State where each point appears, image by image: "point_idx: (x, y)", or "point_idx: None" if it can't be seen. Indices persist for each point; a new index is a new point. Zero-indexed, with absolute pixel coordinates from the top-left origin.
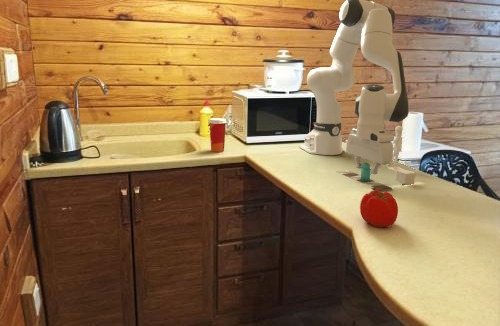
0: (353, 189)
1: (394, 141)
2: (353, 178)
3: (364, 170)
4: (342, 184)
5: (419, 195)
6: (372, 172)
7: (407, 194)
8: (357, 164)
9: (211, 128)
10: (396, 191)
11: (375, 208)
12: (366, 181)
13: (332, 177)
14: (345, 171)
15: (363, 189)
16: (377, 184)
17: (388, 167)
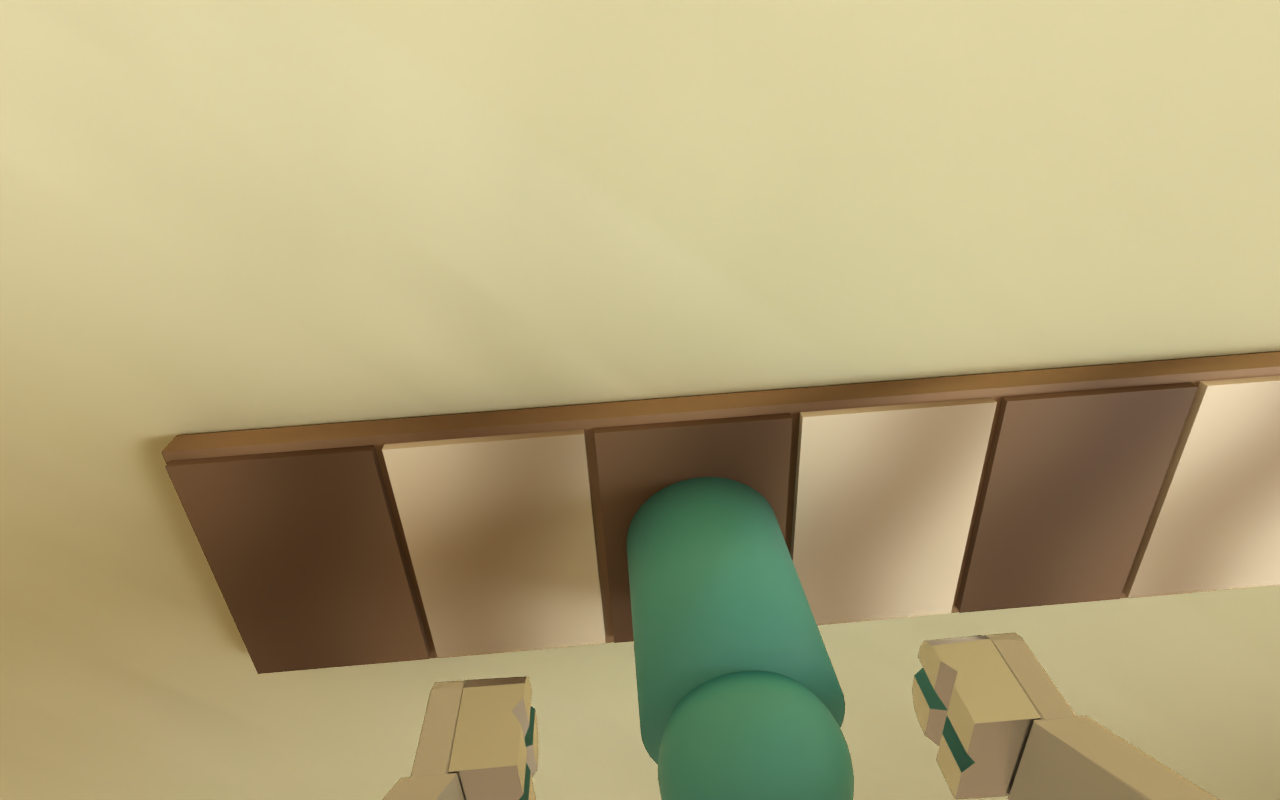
0: (393, 88)
1: None
2: (881, 431)
3: (687, 647)
4: (773, 68)
5: (9, 792)
6: (456, 698)
7: (49, 709)
8: (1009, 701)
9: None
10: (192, 665)
11: None
12: (630, 524)
13: (1244, 160)
14: (1256, 527)
15: (358, 286)
16: (445, 589)
17: None
